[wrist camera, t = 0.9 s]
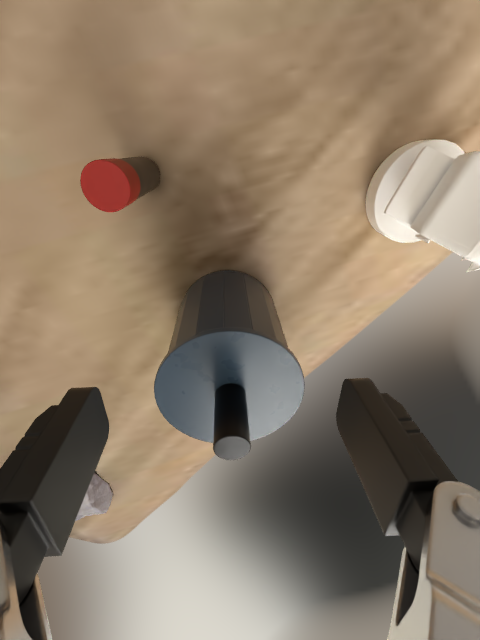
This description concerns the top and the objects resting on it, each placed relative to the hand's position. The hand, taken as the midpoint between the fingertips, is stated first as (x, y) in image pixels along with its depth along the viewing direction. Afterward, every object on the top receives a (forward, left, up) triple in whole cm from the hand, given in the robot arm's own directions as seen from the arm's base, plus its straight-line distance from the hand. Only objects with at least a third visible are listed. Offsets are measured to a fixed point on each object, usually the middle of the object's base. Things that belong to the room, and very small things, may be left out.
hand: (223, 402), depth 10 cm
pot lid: (+8, +5, -11) cm, 14 cm away
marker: (-1, -9, -23) cm, 25 cm away
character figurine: (-12, +13, -23) cm, 29 cm away
